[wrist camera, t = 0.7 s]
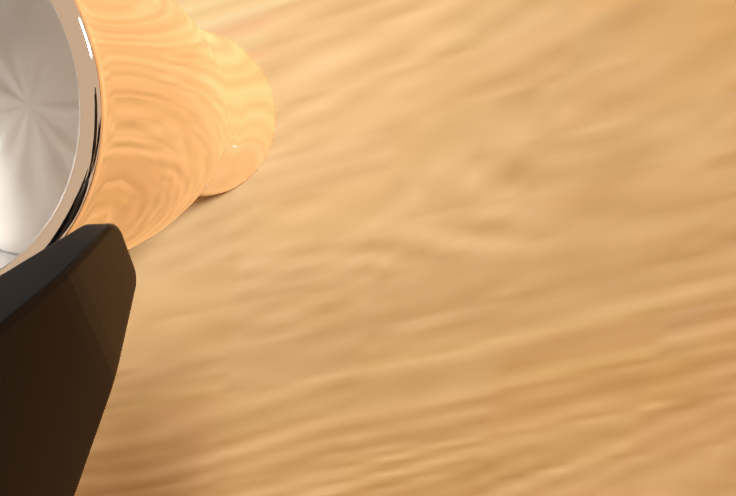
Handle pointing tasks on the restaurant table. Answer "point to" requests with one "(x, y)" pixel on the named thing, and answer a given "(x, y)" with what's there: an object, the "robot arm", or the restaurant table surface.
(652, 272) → the restaurant table surface
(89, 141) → the beer glass
